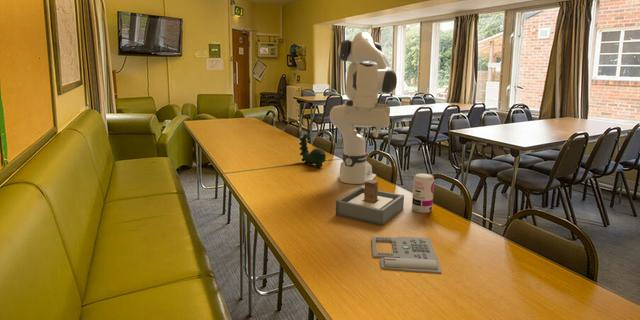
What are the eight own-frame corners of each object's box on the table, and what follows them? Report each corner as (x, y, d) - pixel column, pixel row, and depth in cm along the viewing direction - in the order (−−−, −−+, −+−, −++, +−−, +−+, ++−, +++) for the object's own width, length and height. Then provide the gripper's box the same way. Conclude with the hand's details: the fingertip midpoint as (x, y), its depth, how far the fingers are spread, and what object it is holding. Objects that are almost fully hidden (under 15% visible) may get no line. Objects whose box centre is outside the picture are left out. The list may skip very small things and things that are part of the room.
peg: (368, 207, 169) (369, 179, 166) (376, 209, 167) (378, 181, 164) (363, 210, 165) (364, 181, 163) (372, 212, 163) (373, 183, 161)
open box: (360, 200, 181) (360, 187, 179) (403, 208, 170) (404, 195, 169) (335, 215, 162) (336, 201, 161) (381, 226, 152) (382, 210, 151)
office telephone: (443, 267, 118) (373, 263, 120) (442, 276, 118) (373, 272, 120) (429, 234, 140) (371, 231, 142) (429, 241, 141) (371, 238, 143)
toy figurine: (296, 164, 248) (318, 170, 227) (294, 134, 245) (317, 136, 224) (309, 163, 253) (332, 168, 233) (308, 132, 250) (331, 135, 230)
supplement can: (432, 208, 172) (435, 173, 168) (431, 214, 164) (433, 179, 161) (413, 205, 174) (415, 172, 171) (410, 212, 167) (413, 177, 163)
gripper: (393, 103, 162) (391, 137, 166) (348, 100, 173) (347, 131, 176) (387, 105, 157) (385, 140, 161) (340, 101, 167) (340, 134, 171)
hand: (365, 135), depth 168 cm, fingers open, 8 cm apart
